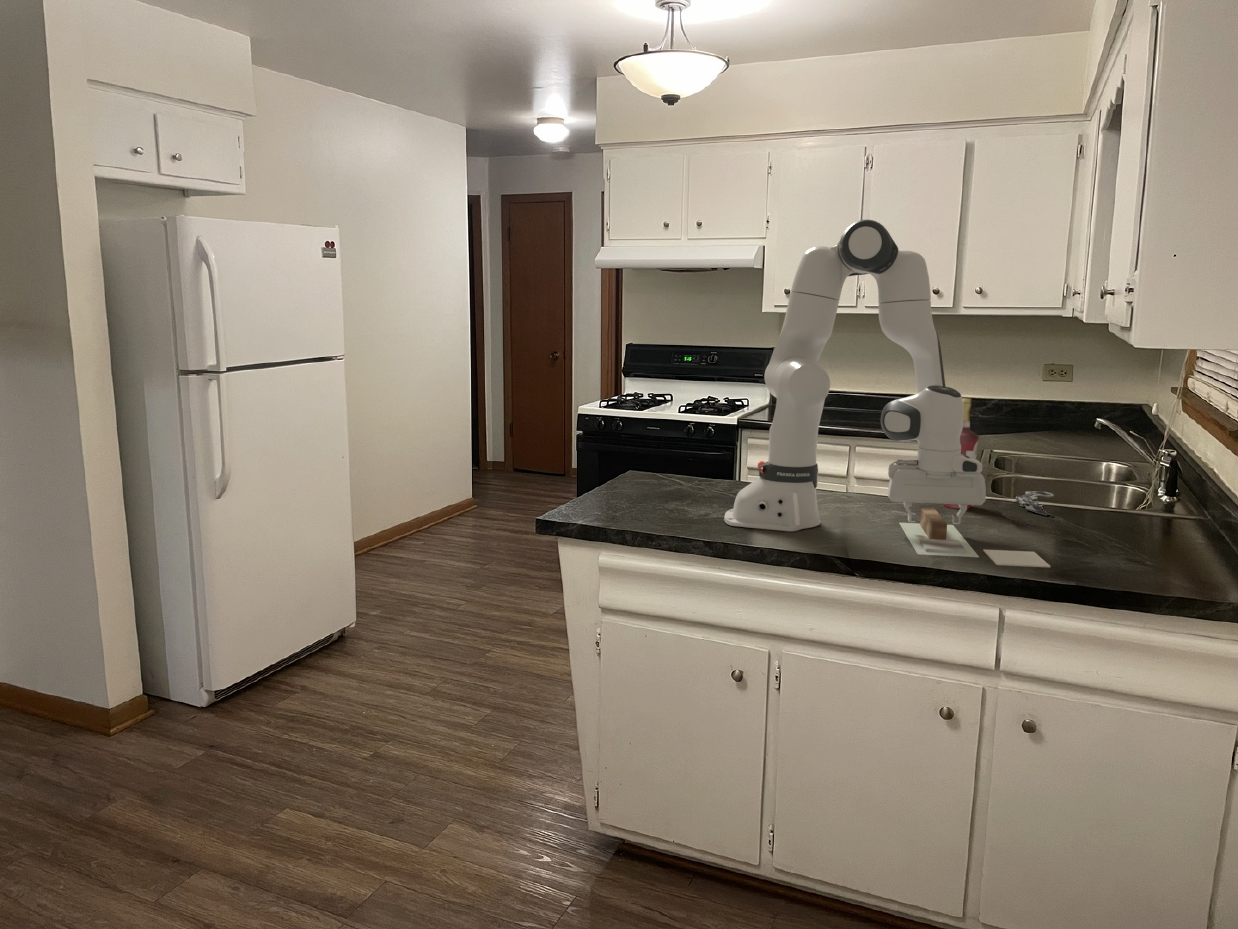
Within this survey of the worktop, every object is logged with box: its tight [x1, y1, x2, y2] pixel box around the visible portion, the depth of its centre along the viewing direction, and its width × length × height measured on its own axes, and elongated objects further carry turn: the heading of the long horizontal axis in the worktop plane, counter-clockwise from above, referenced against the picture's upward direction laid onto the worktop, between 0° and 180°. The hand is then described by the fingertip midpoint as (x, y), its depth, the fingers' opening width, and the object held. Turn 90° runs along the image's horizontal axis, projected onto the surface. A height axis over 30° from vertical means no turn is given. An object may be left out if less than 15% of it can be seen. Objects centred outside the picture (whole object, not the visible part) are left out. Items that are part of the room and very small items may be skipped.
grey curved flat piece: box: [1015, 490, 1055, 516], centre depth 231 cm, size 28×2×10 cm
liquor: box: [942, 397, 980, 510], centre depth 222 cm, size 7×7×28 cm
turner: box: [919, 507, 966, 553], centre depth 194 cm, size 22×8×4 cm, turn 171°
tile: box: [983, 549, 1051, 568], centre depth 180 cm, size 10×2×10 cm
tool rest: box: [898, 522, 980, 558], centre depth 194 cm, size 12×26×1 cm, turn 171°
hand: (933, 522), depth 197 cm, fingers open, 8 cm apart
